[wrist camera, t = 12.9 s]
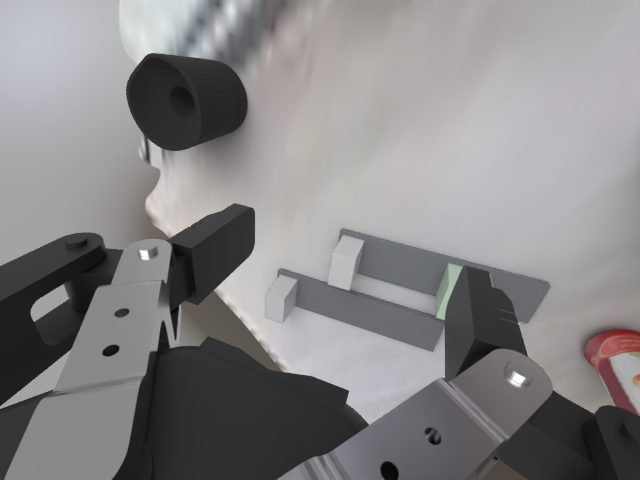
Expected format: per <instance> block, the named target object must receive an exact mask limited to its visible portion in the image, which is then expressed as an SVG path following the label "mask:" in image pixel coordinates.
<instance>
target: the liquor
mask: <svg viewBox="0 0 640 480" xmlns="http://www.w3.org/2000/svg"><path fill="white" fill-rule="evenodd" d="M584 355H585V358H586V360H587V361H588V362H589V363H590V364H591V365H593V366H594V367H595V368H596V370H597V372H598V374H599V377H600V379H601V381H602V383H603V385H604V387H605V389H606V392H607V394H608V396H609V398H610V400H611V403H612V405H613V406H617V407H620V408H623V409H626V410H628V411H631V412H633V413H634V414H636V415H638V416H640V332H637V331H632V330H612V331H607V332H604V333H601V334H599V335H597V336H595V337H593V338H592V339H590V340H589V341H588V343H587V344H586V346H585V348H584Z"/></svg>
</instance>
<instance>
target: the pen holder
mask: <svg viewBox="0 0 640 480" xmlns="http://www.w3.org/2000/svg"><path fill="white" fill-rule="evenodd" d="M126 95H127V101H128V105H129V108H130V111H131V114H132V116H133V118H134V120H135V121H136V124H137V125H138V127H139V128H140V130H141V131H142V132H143V134H144V135H145V136H146V137H147V138H148V139H149V140H150V141H152V142H153V143H154V144H156V145H157V146H159V147H161V148H163V149H166V150H170V151H179V150H184V149H188V148H191V147H193V146H196V145H199V144H201V143H204V142H207V141H210V140H212V139H215V138H218V137H220V136H223V135H225V134H228V133H230V132H232V131H234V130H236V129H237V128H238V127H239V126H240V125H241V123H242V122H243V120H244V117H245V114H246V109H247V100H246V93H245V90H244V87H243V85H242V82H241V81H240V79H239V77H238V76H237V74H236V73H235V72H234V71H233V70H232V69H231V68H230V67H228V66H227V65H225V64H224V63H221V62H219V61H214V60H208V59H201V58H192V57H183V56H175V55H166V54H157V53H151V54H148V55H147V56H145V57H144V59H143V60H142V61H141V62H140V63H139V65H138V66H137V67H136V68H135V70H134V71H133V73H132V74H131V76H130V78H129V80H128V83H127V89H126Z"/></svg>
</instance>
